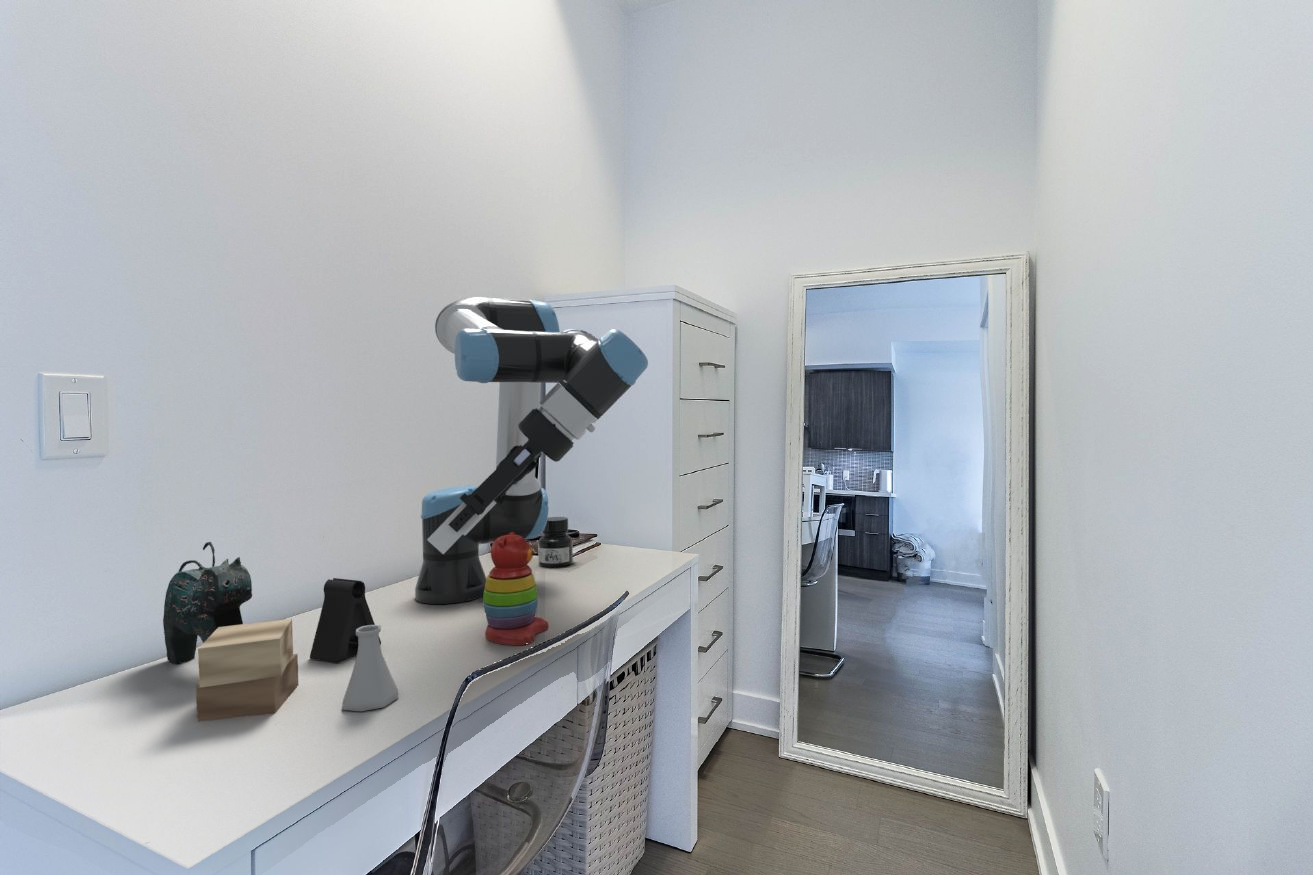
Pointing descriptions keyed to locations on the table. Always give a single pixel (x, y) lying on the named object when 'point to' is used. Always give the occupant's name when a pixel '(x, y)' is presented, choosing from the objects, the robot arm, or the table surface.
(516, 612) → the stacking bear
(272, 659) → the block upper
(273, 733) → the table surface
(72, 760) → the table surface
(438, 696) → the table surface
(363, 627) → the flask
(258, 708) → the block lower
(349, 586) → the phone stand
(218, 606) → the ceramic cat
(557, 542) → the ink bottle
